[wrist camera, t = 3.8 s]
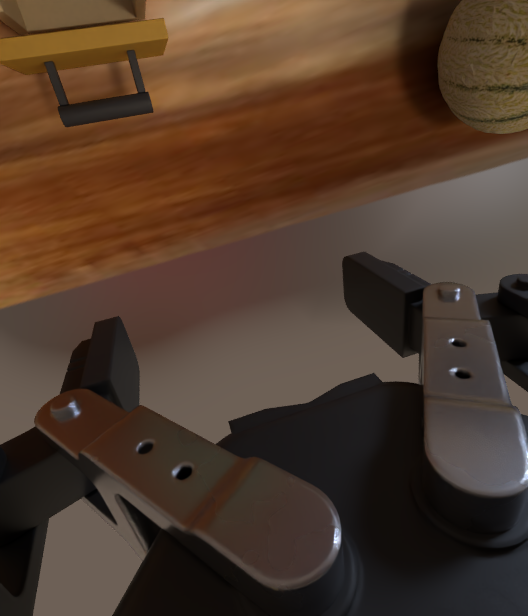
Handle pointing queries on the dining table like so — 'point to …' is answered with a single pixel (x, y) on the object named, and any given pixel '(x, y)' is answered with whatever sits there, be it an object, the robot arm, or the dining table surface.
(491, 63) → the cantaloupe
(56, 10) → the drawer
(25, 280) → the dining table surface
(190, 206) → the dining table surface
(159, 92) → the dining table surface
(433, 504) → the robot arm
